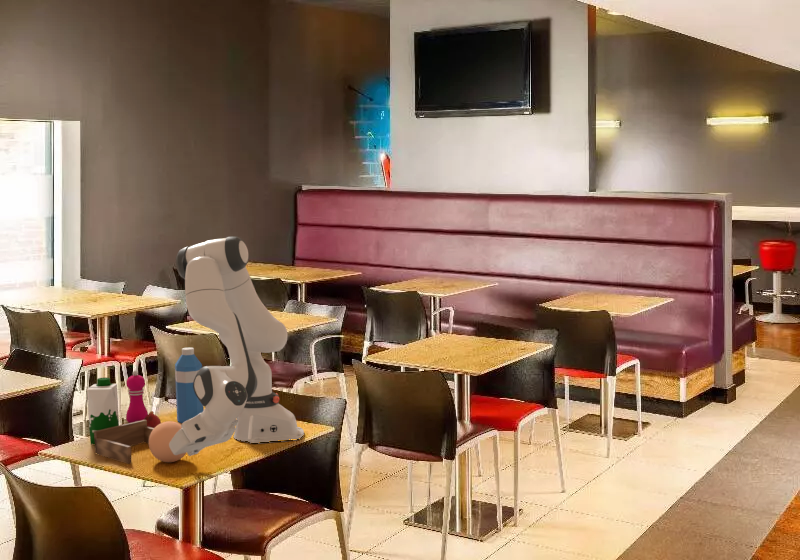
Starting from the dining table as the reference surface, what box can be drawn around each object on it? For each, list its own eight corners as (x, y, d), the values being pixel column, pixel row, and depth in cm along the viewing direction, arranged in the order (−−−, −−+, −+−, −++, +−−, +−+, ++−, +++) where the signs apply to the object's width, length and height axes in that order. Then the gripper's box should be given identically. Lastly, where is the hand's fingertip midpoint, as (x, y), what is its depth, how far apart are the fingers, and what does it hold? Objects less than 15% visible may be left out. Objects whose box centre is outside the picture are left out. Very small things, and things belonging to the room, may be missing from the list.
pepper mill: (137, 433, 341) (134, 373, 339) (121, 430, 345) (119, 371, 343) (153, 428, 347) (151, 369, 345) (138, 426, 351) (135, 367, 349)
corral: (178, 450, 320) (177, 427, 320) (128, 463, 307) (127, 440, 306) (145, 441, 332) (144, 419, 331) (95, 453, 318) (93, 431, 317)
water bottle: (195, 415, 365) (192, 345, 362) (209, 420, 358) (206, 348, 355) (171, 420, 358) (168, 348, 356) (185, 424, 352) (183, 352, 349)
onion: (156, 438, 335) (155, 413, 334) (140, 437, 336) (138, 413, 335) (164, 433, 341) (163, 409, 340) (147, 432, 342) (146, 408, 341)
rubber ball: (193, 455, 315) (191, 416, 313) (188, 466, 303) (186, 426, 302) (153, 456, 314) (151, 417, 313) (146, 468, 302) (144, 427, 301)
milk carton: (122, 437, 336) (119, 377, 334) (114, 445, 327) (111, 382, 325) (94, 438, 336) (92, 377, 334) (86, 445, 327) (83, 383, 325)
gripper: (235, 409, 303) (214, 436, 310) (178, 423, 287) (158, 451, 295) (245, 426, 300) (225, 453, 308) (188, 441, 285) (168, 470, 292)
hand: (191, 453), depth 301 cm, fingers closed
